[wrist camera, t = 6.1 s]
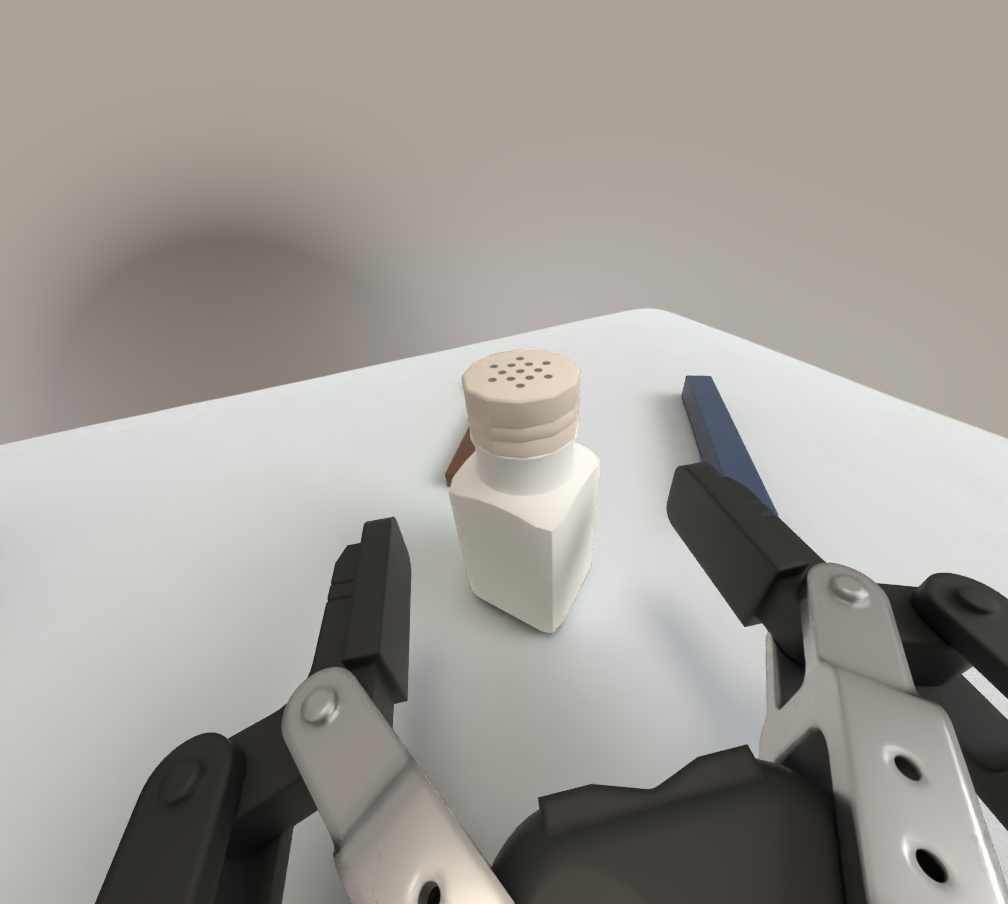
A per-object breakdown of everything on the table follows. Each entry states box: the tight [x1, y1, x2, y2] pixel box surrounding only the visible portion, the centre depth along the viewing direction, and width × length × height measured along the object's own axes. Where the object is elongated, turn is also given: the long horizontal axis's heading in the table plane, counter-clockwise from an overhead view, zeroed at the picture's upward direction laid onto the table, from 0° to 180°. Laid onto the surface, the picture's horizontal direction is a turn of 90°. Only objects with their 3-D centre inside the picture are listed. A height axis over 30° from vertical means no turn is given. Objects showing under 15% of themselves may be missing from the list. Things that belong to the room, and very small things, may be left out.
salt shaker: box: [449, 350, 601, 633], centre depth 13 cm, size 4×4×10 cm
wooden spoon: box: [445, 427, 476, 486], centre depth 26 cm, size 4×14×1 cm, turn 168°
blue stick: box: [682, 376, 778, 516], centre depth 21 cm, size 2×13×2 cm, turn 168°
